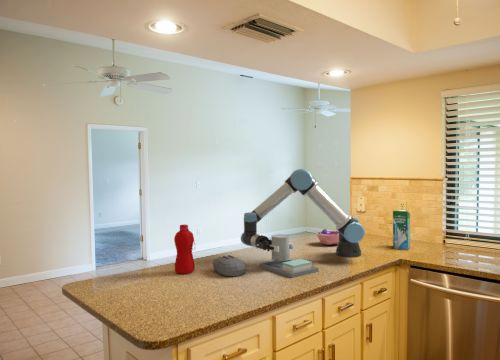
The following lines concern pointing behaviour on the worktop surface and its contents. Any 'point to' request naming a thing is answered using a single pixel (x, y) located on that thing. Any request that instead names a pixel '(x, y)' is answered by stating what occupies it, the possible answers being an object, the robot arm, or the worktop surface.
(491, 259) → the worktop surface
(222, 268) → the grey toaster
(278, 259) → the speckled grey can
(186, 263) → the water bottle
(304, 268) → the teal sponge
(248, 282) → the worktop surface
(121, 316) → the worktop surface
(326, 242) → the cell model
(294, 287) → the worktop surface
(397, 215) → the milk carton
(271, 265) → the tote tray
